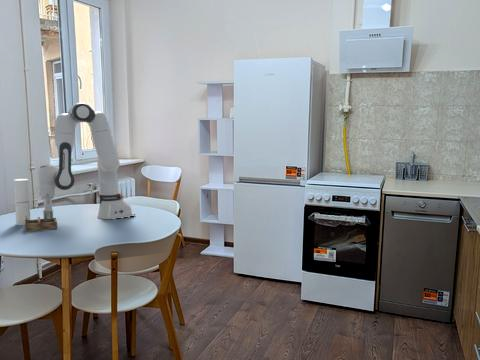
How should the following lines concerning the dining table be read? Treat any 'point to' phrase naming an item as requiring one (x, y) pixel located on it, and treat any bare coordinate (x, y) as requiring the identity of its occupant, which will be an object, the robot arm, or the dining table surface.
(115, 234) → the dining table surface
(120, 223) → the dining table surface
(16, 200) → the cylindrical container
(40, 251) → the dining table surface
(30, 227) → the brown wooden open box
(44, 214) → the jar
